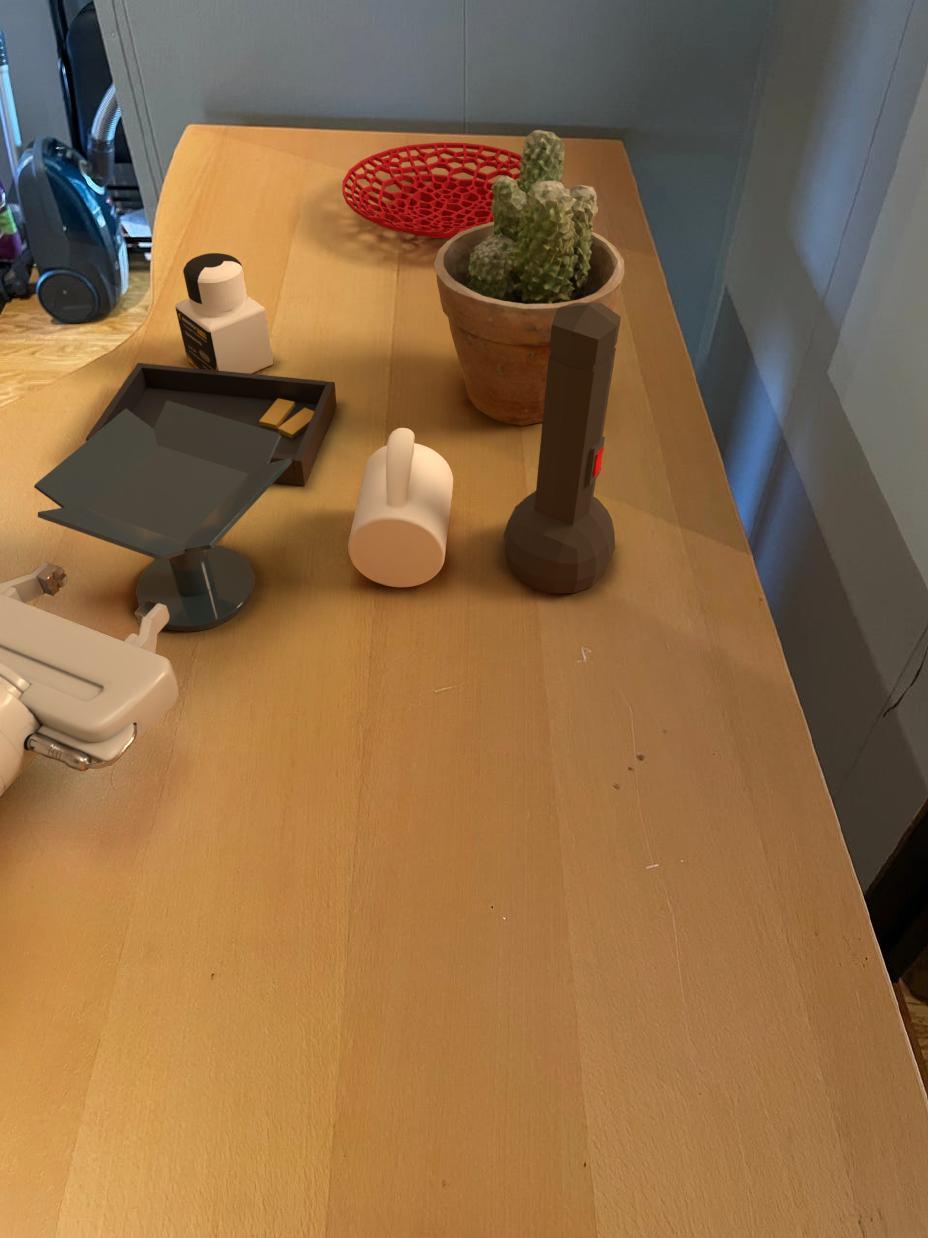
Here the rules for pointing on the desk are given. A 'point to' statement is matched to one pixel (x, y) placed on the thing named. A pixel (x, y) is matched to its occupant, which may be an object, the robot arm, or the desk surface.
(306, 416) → the key
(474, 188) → the bowl
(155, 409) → the tray
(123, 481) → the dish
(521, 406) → the potted plant
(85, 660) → the robot arm
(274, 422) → the orange rectangular block
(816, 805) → the desk surface
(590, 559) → the flashlight
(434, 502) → the mug
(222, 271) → the medicine bottle
